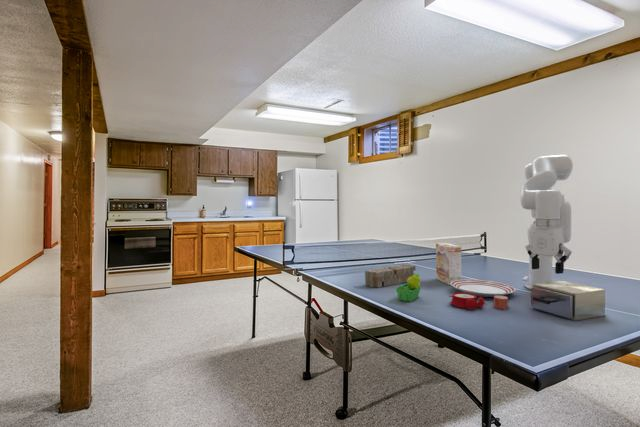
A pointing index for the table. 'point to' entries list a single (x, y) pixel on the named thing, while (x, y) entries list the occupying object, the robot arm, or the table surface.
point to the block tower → (389, 275)
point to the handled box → (552, 301)
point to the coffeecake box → (448, 262)
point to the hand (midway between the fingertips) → (547, 271)
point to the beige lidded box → (579, 298)
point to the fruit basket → (409, 289)
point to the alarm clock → (467, 300)
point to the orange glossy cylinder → (501, 302)
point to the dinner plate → (482, 287)
